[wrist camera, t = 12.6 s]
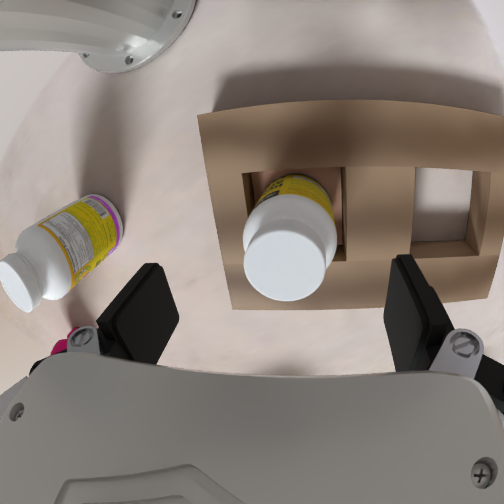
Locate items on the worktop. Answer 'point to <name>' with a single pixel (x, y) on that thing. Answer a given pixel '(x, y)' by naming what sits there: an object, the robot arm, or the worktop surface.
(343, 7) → the worktop surface
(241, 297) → the socket board
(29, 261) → the supplement bottle
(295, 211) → the supplement bottle
